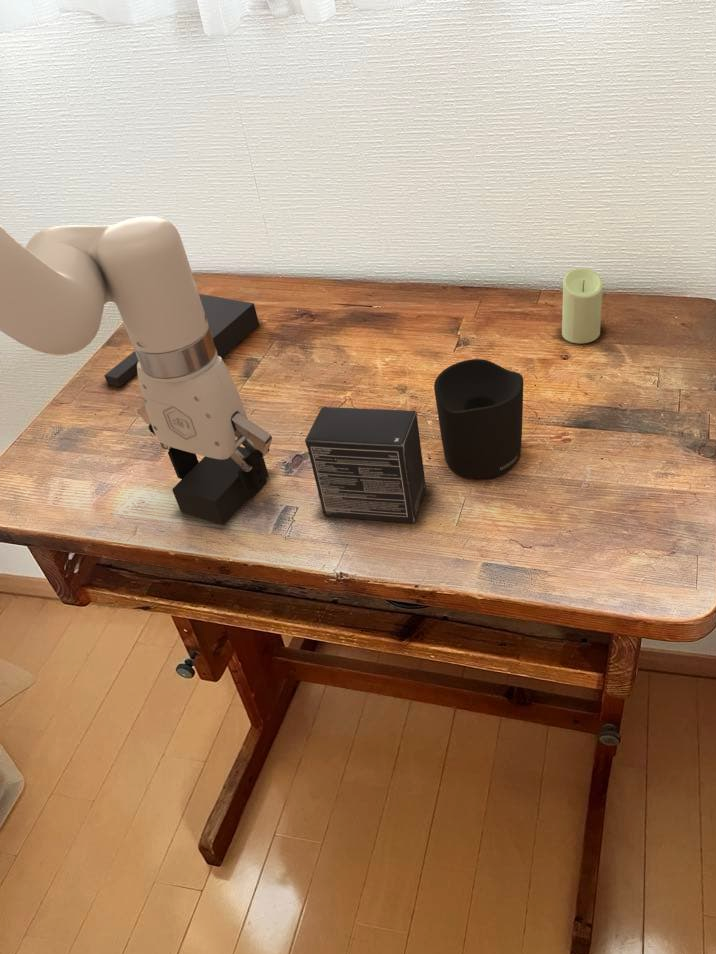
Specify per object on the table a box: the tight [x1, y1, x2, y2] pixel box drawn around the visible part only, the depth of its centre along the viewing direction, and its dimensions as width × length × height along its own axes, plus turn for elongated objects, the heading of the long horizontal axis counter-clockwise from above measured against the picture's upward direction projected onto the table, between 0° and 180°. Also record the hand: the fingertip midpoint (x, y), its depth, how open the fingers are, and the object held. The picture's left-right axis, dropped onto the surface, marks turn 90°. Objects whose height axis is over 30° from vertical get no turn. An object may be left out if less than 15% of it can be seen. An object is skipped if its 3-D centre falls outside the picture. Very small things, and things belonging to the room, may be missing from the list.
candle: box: [561, 267, 604, 345], centre depth 108 cm, size 5×5×8 cm
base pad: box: [103, 293, 260, 388], centre depth 117 cm, size 20×12×4 cm, turn 153°
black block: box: [171, 445, 269, 526], centre depth 94 cm, size 9×6×4 cm, turn 153°
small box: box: [304, 406, 427, 524], centre depth 88 cm, size 11×6×10 cm, turn 77°
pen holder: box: [433, 358, 524, 480], centre depth 91 cm, size 9×9×10 cm
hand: (222, 480), depth 94 cm, fingers open, 9 cm apart
